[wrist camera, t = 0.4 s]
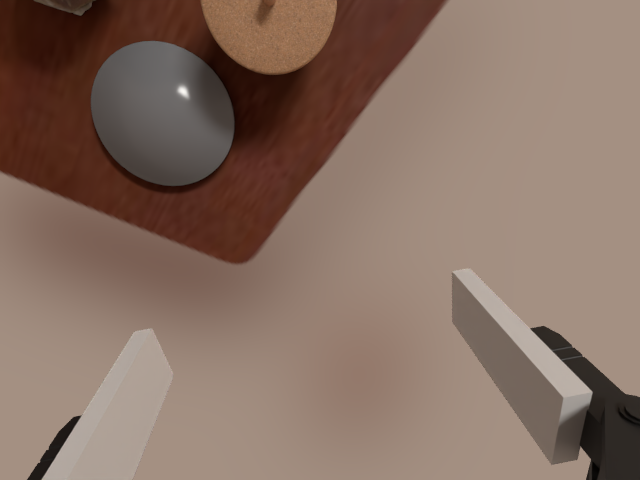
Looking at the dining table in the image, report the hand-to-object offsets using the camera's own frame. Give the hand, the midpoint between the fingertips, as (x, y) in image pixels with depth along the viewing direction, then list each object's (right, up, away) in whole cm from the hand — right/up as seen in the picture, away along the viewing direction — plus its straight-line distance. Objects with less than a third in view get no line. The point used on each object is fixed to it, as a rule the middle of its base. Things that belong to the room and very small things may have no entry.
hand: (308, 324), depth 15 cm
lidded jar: (-4, +26, +19) cm, 32 cm away
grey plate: (-16, +17, +21) cm, 31 cm away
